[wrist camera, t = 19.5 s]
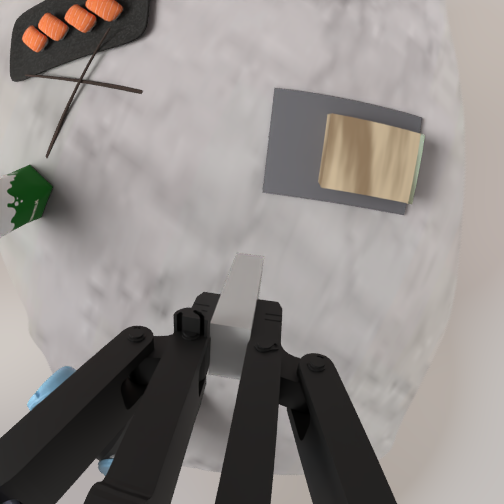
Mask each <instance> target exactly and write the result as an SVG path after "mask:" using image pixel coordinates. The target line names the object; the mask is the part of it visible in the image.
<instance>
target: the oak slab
mask: <svg viewBox="0 0 504 504" xmlns="http://www.w3.org/2000/svg"><path fill="white" fill-rule="evenodd" d="M424 138H425V135H423V134H420V133H416V132H412V131H409V130H405V129H401V128H397V127H393V126H389V125H385V124H381V123H377V122H372V121H368V120H363V119H358V118H354V117H349V116H343V115H338V114H333V113H331V114H328V115H327V123H326V130H325V138H324V145H323V152H322V159H321V166H320V172H319V179H318V182H319V184H320V186H321V188H327V189H333V190H339V191H345V192H351V193H357V194H362V195H368V196H373V197H378V198H383V199H389V200H394V201H399V202H403V203H408V204H412V202H413V197H414V193H415V188H416V183H417V178H418V173H419V168H420V162H421V157H422V151H423V145H424Z"/></svg>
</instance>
